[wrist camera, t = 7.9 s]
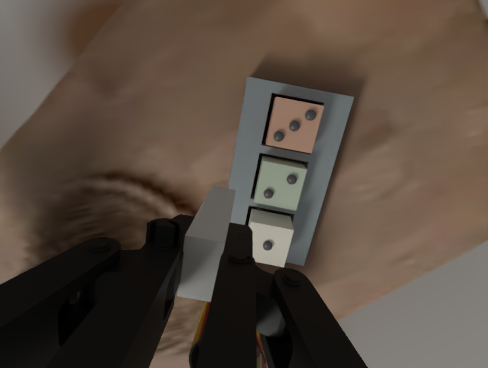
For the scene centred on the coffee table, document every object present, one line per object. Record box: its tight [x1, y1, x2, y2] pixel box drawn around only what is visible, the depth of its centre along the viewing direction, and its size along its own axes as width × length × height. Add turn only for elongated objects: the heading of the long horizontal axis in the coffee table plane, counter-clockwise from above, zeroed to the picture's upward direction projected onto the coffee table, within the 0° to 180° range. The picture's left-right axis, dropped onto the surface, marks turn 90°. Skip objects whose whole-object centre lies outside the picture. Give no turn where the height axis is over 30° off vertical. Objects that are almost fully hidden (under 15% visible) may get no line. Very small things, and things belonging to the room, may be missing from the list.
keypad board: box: [228, 77, 354, 266], centre depth 35 cm, size 13×24×2 cm, turn 170°
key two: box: [254, 155, 307, 211], centre depth 33 cm, size 6×6×4 cm
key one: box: [248, 209, 294, 267], centre depth 34 cm, size 6×6×4 cm
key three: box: [265, 97, 324, 153], centre depth 31 cm, size 6×6×4 cm
